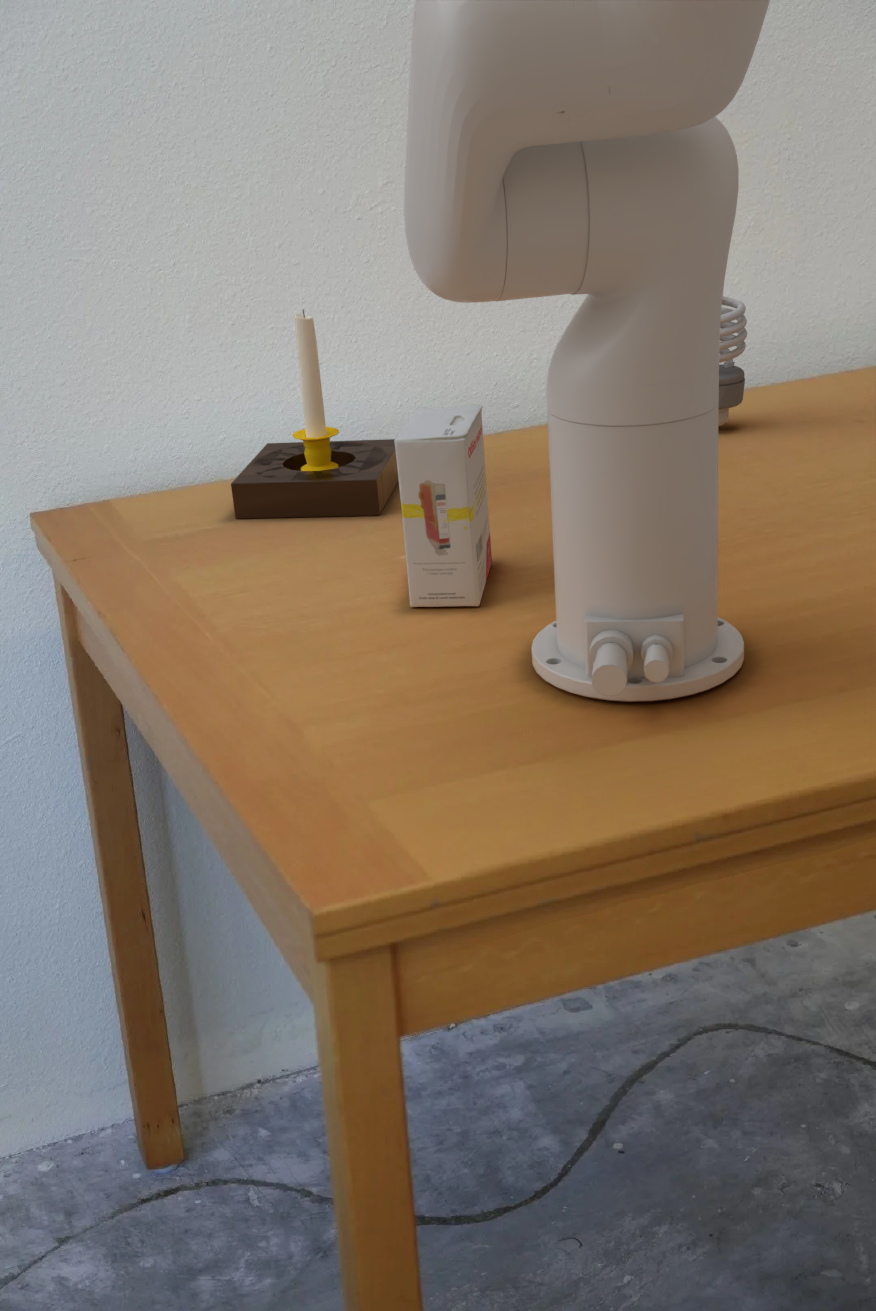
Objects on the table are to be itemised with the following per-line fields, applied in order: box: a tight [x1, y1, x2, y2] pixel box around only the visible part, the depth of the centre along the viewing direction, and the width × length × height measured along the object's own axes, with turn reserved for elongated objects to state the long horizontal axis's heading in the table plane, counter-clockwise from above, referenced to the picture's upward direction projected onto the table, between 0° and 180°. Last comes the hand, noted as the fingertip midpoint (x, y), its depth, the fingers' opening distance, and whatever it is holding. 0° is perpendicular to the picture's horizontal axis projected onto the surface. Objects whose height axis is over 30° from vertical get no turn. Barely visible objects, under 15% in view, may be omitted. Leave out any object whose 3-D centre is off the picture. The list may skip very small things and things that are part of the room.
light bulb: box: [718, 296, 748, 429], centre depth 132 cm, size 6×6×12 cm
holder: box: [230, 438, 399, 520], centre depth 124 cm, size 12×12×3 cm
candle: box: [292, 308, 340, 471], centre depth 122 cm, size 5×5×16 cm
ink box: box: [394, 404, 493, 608], centre depth 100 cm, size 9×5×12 cm, turn 171°
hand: (515, 59), depth 100 cm, fingers open, 9 cm apart
